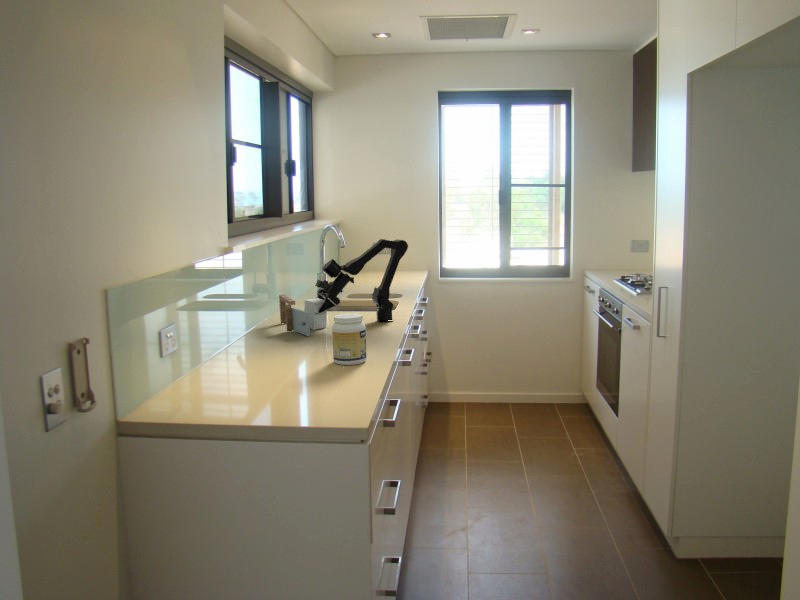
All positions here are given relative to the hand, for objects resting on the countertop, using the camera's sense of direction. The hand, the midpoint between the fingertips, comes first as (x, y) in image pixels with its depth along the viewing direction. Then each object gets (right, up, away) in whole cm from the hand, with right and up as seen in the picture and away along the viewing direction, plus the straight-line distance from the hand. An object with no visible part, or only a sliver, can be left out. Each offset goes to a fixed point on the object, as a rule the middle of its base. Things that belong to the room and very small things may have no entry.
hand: (316, 310), depth 314 cm
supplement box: (0, -8, +1) cm, 8 cm away
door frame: (-14, -8, +5) cm, 17 cm away
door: (-6, -9, -11) cm, 15 cm away
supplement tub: (+20, -18, -62) cm, 67 cm away
